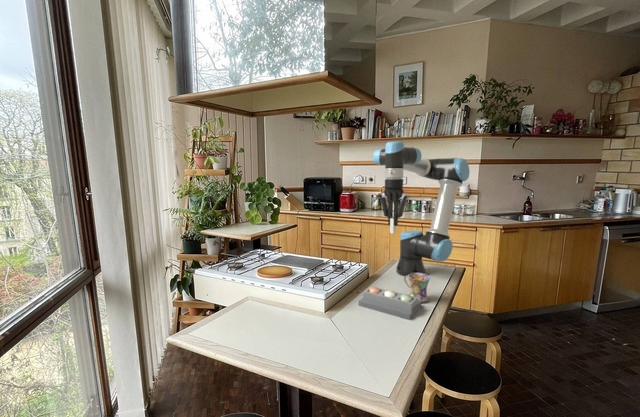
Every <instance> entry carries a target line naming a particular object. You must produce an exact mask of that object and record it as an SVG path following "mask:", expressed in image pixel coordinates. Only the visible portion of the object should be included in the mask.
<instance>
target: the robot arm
mask: <svg viewBox="0 0 640 417" xmlns="http://www.w3.org/2000/svg"><path fill="white" fill-rule="evenodd" d="M404 145H405V142H403V141H388V142H386V143H385V148H380V149H376V150H374V152H373V156H372V159H373V162H374V164H375V165H377V166H384V167H385V170H384V172H385V173H384V178H385V179H384V190H383V192H382V193H379V194H378V197H379V199H380V201H381V206H382V211H383V216H384V217H387V218H388V219H387V221H388V222H387V224H388V226H389V233H390V234H396V232H397V231H396V230H397V229H396V228H397V227H398V224H399V218H401V217H403V215H404V212H405V208H406V204H407V201H408V199H409V198H410V196H409V195H408V194H406V193H405V191H404V190H403V189H404V188H403V187H404V180H403V178H404V171H407V172H411V173H414V174H415V173H416V175H417V176H419V177H423V178H426V179H430V180H432V181H433V180H434V181H437V182H438V184H439V190H438V194H437V199H436V202H435V205H434V211H433V215H432V218H431V223H430V228H429V229H427V230H426V231H425V234H424V231H422V230H406V231H403V232H400V233H401V234H400V239H399V245H400V246H399V259H398V263H397V265H396V273H397V274H398V275H401V276H404V277H405V276H408V275H409V274H411V273H423V274H426V269H425V265H424V261H423V258H425V259H428V260H432V261H435V262H444V261H446V260H447V259H449V258H450V255H451V254H452V251H453V248H454V247H453V241H452V240H451V239H450V238H451V237H450V235H449V233H448V232H449V229H450V223H451V219H452V215H453V211H454V206H455V202H456V198H457V193H458V189H459V188H460V187H462V185H463V182H466V181H468V179H469V178H470V166H469V163H468V161H467V160H466V159H465V158H462V157H458V158H457V157H452V158H430V159H428V158H425V157H424V158H422V157H423V156H422V152H421V150H420V149H419V148H418V147H414V146H413V147H408V146H407V147H405V146H404ZM386 198H387V199H386ZM400 199H401V202H400ZM399 203H400V204H399ZM399 205H400V206H399Z"/></svg>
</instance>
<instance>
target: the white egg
mask: <svg viewBox="0 0 640 417" xmlns="http://www.w3.org/2000/svg"><path fill="white" fill-rule="evenodd" d="M395 292H396V291H395V290H394V291H392V290H389V291H385V296H387V297H391V298H394V297H395Z"/></svg>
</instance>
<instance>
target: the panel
mask: <svg viewBox="0 0 640 417" xmlns="http://www.w3.org/2000/svg"><path fill="white" fill-rule="evenodd" d="M371 287H374V286H373V285H372V286H371V285H370V287H368V288H367V289H365V290H364V291H363V293H362V294H363V295H362V296H363V297H362V298H360V299H359V300H358V306H360V307H363V308H365V309H366V308H367V309H370V310H373V311H378V312H380V313H384V314H387V315H391V316H395V317H398V318H402V319H405V320H408V321H410V320H411V319H412V318H413V317H414V315H416V313H417V312H418V311H419V309H420V308H421V307H422V302H420V301H418V297H414V296H412V301H411V302H407V301H403V300H401V295H404V294H405V293H401V292H397V291H394V292H395V297H394V298H391V297H387V296H385V291H390V289H389V290H388V289H384V288H381V287H378V288H379V289H380V293H378V294H375V293H371V292H369V290H370V288H371Z"/></svg>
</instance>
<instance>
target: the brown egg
mask: <svg viewBox="0 0 640 417" xmlns="http://www.w3.org/2000/svg"><path fill="white" fill-rule="evenodd" d="M370 287H371V286H370ZM379 288H380V287H376V286H373V287H371V288H370V290H369V292H371V293H375V294H378V293H380V289H379Z"/></svg>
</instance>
